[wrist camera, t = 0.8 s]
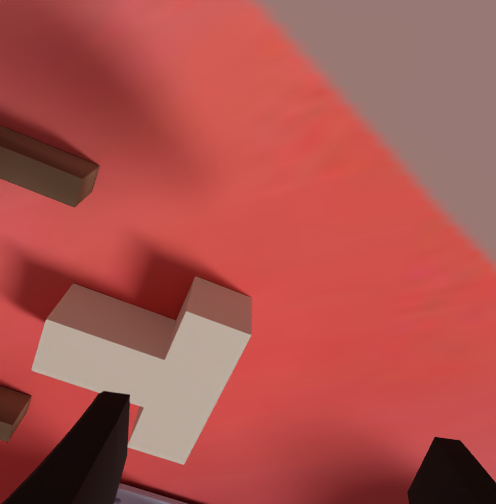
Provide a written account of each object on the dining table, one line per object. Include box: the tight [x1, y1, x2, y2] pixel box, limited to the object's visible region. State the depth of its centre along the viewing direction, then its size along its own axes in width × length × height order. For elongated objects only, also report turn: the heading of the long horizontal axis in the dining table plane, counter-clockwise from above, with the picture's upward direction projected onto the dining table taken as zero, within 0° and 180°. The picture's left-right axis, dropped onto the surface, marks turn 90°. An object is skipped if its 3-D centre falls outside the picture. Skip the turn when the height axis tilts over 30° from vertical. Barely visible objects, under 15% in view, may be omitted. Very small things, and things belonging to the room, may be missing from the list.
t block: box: [31, 276, 252, 465], centre depth 21 cm, size 8×8×3 cm
